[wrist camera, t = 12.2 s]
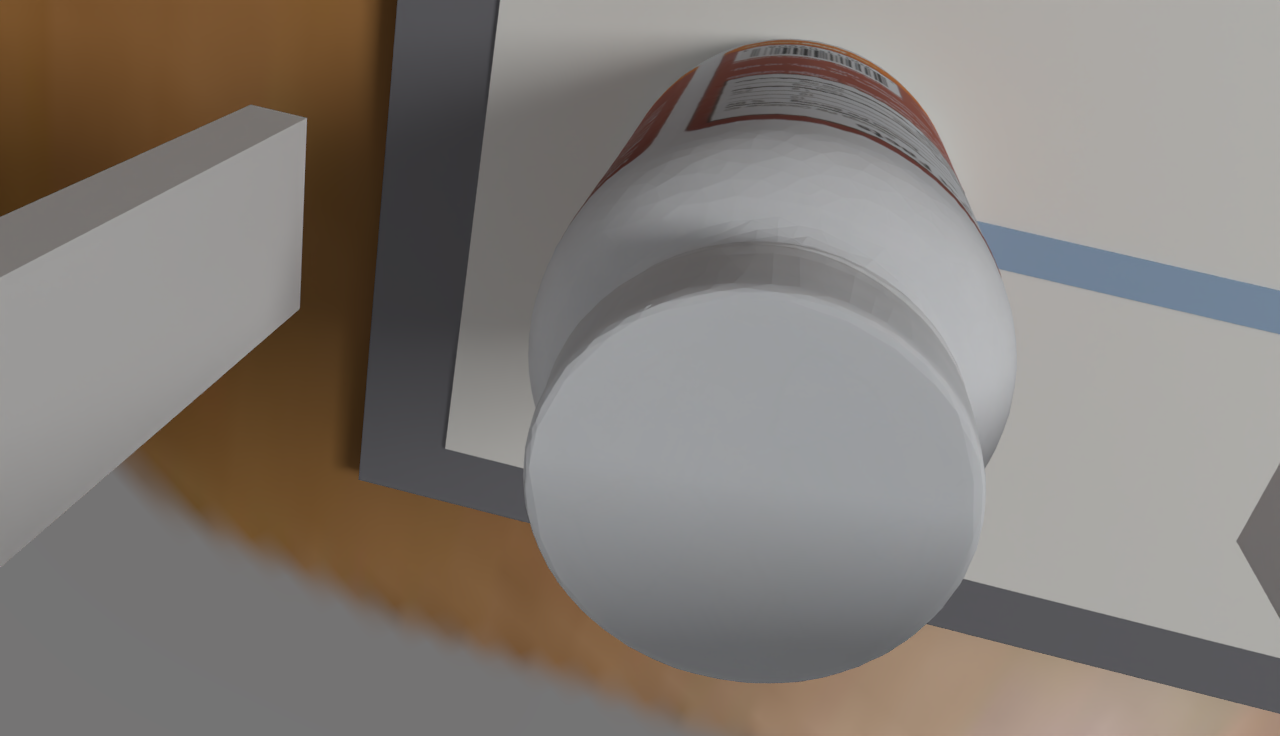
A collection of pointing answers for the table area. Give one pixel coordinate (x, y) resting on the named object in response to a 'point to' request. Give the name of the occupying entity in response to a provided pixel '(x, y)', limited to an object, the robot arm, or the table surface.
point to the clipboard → (1011, 225)
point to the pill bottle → (769, 373)
